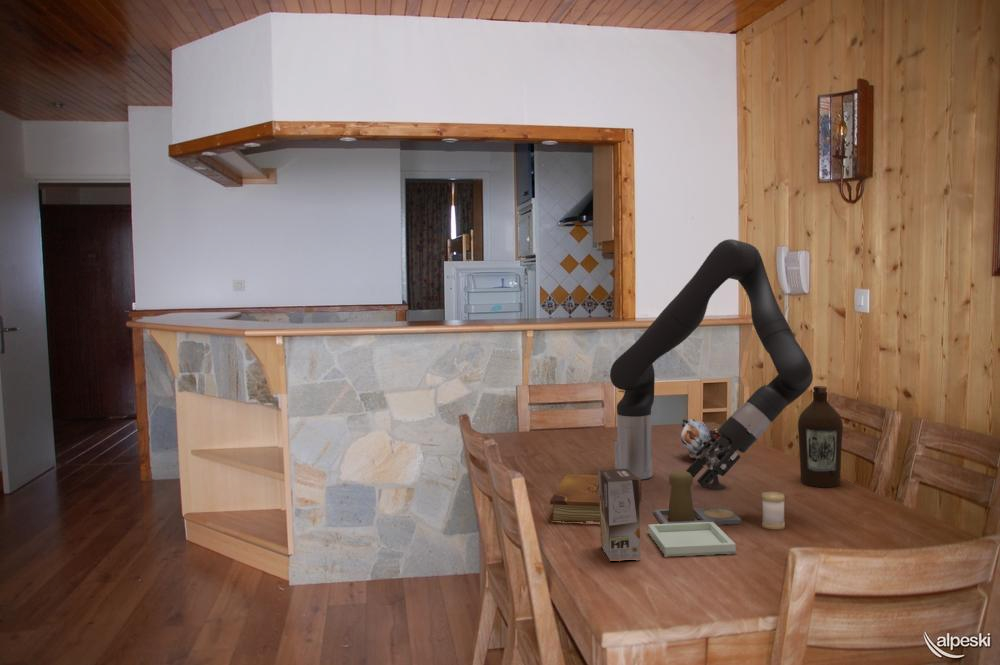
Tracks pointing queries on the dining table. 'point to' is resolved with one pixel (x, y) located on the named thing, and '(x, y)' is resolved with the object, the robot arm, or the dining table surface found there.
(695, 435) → the lucky cat figurine
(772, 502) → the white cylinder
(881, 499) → the dining table surface
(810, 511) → the dining table surface
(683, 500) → the cork
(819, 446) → the olive oil
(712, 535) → the parts tray
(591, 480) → the diary
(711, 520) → the socket block
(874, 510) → the dining table surface
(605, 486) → the coffee box
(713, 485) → the sundae
